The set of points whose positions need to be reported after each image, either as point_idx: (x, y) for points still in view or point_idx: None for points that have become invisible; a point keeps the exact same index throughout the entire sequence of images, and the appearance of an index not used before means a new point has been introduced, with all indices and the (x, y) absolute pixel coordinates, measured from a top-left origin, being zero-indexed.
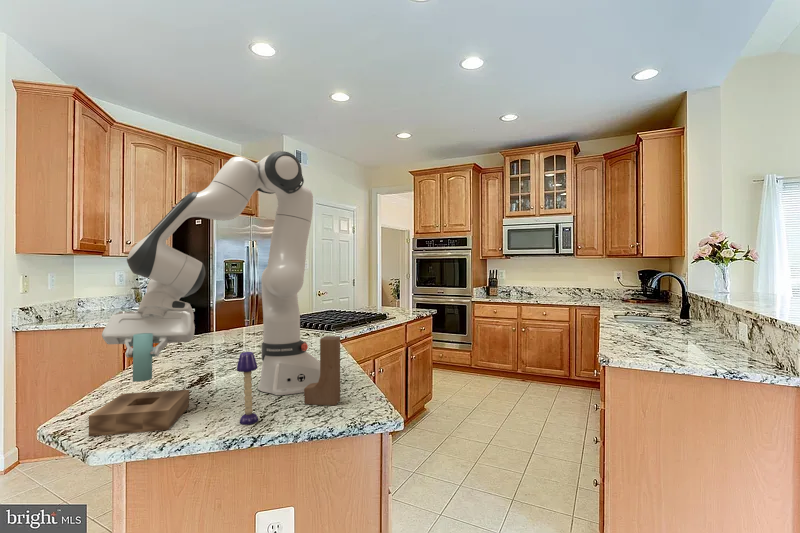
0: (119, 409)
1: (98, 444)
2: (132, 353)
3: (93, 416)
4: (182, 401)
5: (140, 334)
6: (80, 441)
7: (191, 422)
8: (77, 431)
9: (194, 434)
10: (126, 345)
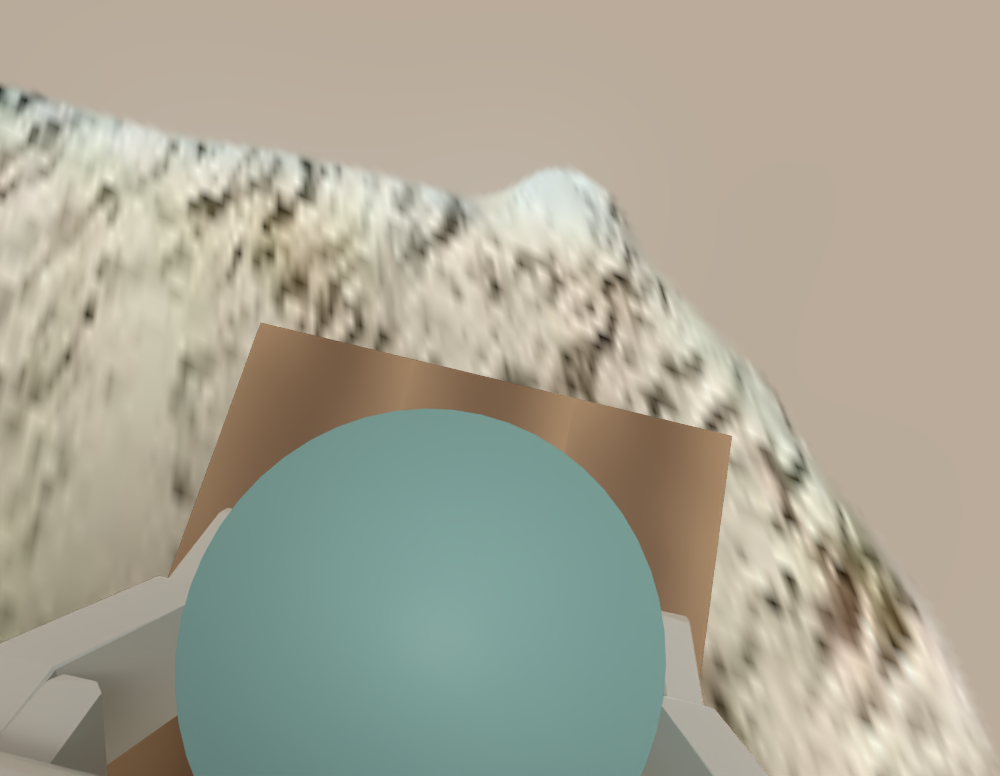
0: None
1: (606, 323)
2: None
3: (702, 431)
4: None
5: (493, 650)
6: (705, 406)
7: (157, 434)
8: (778, 584)
9: (163, 240)
10: (745, 755)
